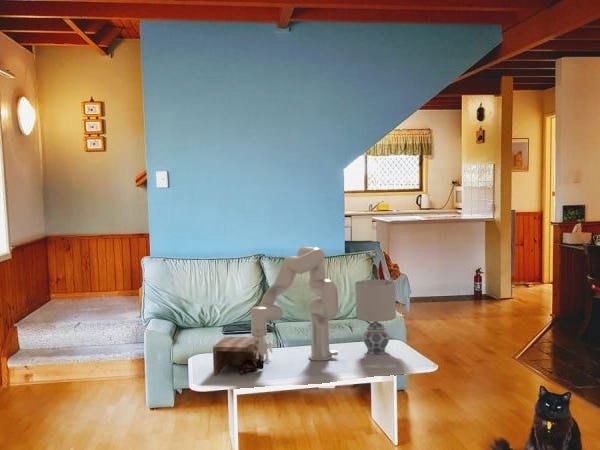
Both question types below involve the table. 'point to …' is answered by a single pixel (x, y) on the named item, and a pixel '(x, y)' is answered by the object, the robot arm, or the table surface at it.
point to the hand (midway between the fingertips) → (260, 368)
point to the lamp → (375, 311)
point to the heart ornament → (247, 366)
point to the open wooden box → (232, 352)
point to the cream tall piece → (267, 348)
